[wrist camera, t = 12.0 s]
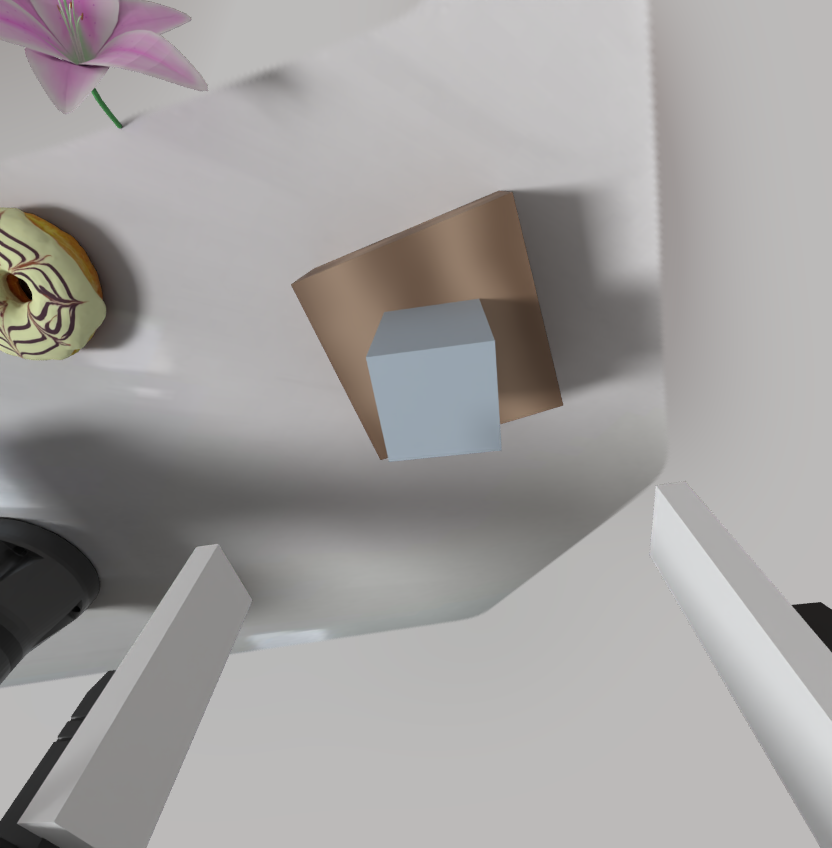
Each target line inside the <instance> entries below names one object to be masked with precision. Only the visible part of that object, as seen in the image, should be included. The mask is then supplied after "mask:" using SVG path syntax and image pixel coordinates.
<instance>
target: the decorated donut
mask: <svg viewBox="0 0 832 848" xmlns="http://www.w3.org/2000/svg"><path fill="white" fill-rule="evenodd" d="M18 278H21V279H23V280H24V281H25V282H26V283H27V284H28V286H29V288H30V290H31V292H32V300H31V299H29V298H28V297H27V296H26V294H25V293H24V291H23V290H22V288H21V286H20V284H19V281H18ZM102 298H103V295H102V290H101V286H100V282H99V278H98V274H97V271H96V270H95V268H94V267H93V265H92V264H91V262H90V260H89V257H88V256H87V254H86V252H85V250H84V249H83V248H82V247H81V246H80V245H79V244H78V242H77V240H76V239H75V238H74V237H72V236H71V235H69V234H68V233H66V232H63V231H61V230H60V229H59V228H57V227H56V226H54V225H53V224H51V223H49V222H48V221H46V220H44V219H42V218H40V217H38V216H36V215H34V214H31V213H26V212H23V211H21V210H20V209H17V208H0V350H1V351H3V352H5V353H7V354H10V355H14V356H18V357H21V358H24V359H31V360H50V359H56V360H62V359H65V358H68V357H69V356H71V355H73V354H75V353H77V352H78V351H79V350H80V349H81V348H83V347H84V346H85V345H86V343H87V342H88V341H89V340H90V339H91V338H92V337H93V335H94V334H95V331H96V330H97V328H98V327H99V326H100V325H101V324H102V322H103V320H104V319H105V317H106V306H105V303H104V302H103V300H102Z"/></svg>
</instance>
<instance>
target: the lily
mask: <svg viewBox="0 0 832 848" xmlns="http://www.w3.org/2000/svg"><path fill="white" fill-rule="evenodd" d="M189 21H191V17H190V16H188V15H187V14H185V13H183V12H181V11H178V10H176V9H173V8H170V7H167V6H164V5H161V4H158V3H153V2H149V1H145V0H0V40H3V41H6V42H9V43H13V44H16V45H19V46H23V47H26V48H25V53H26V57H27V59H28V62H29V63H30V66H31V68H32V70H33V72H34V74H35V75H36V77H37V79H38V81H39V82H40V84H41V86H42V87H43V89H44V90H45V92H46V94H47V95H48V97H49V98H50V100H51V101H52V102H53V104H54V105H55V106H56V107H57V109H58V110H60V111H61V112H63V113H64V114H68V113H71V112H73V111H74V110H75V109H76V108H77V107H78V106H79V105H80V104H81V103H82V102H83V100H84V99H85V98H86V97H87V96H88V95H89V94H90V93H91V92H92V94H93V96H94V97H95V99H96V100H97V102H98V103H99V105H100V106H101V107H102V109H103V110H104V111H105V112H106V114H107V115H108V116H109V117H110V119H111V120H112V121H113V122H114V123H115V125H116V126H117V127H118V128H122V125H121V124H120V122H119V121H118V120H117V119H116V117H115V116H114V115H113V114H112V113H111V111H110V110H109V108H108V107H107V106H106V104H105V103H104V102H103V101H102V99H101V97H100V96H99V94H98V92H97V91H96V89H95V87H96V85H97V84H98V83H99V82H100V80H101V79H102V78H103V76H104V75H105V73H106V72H107V70H108V69H109V67H115V68H121V69H125V70H130V71H134V72H139V73H143V74H146V75H149V76H152V77H156V78H159V79H162V80H166V81H168V82H171V83H175V84H178V85H181V86H184V87H187V88H191V89H194V90H198V91H208V85H207V83H206V82H205V80H204V79H203V77H202V76H201V75H200V74H199V72H198V71H197V70H196V69H195V68H194V66H193V65H192V64H191V63H190V62H189V61H188V60H187V59H186V57H185V56H183V54H181V52H179V51H178V49H177V48H176V47H175V46H173V45H172V44H171V43H170V42H169V41H167V40H166V39H165V38H164V37H162V36H160V35H161V34H163V33H165V32H167V31H170V30H172V29H174V28H176V27H179V26H181V25H183V24H185V23H187V22H189ZM56 57H58V58H61V59H62V60H60V59H58V58H56ZM63 60H64V61H63Z"/></svg>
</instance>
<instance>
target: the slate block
mask: <svg viewBox="0 0 832 848" xmlns="http://www.w3.org/2000/svg"><path fill="white" fill-rule="evenodd" d="M366 360H367V365H368V369H369V374H370V378H371V383H372V387H373V392H374V396H375V401H376V405H377V410H378V414H379V419H380V423H381V428H382V432H383V437H384V441H385V446H386V450H387V455H388V459H389V462H392V461H402V460H412V459H422V458H432V457H441V456H451V455H461V454H471V453H481V452H491V451H501V433H500V417H499V400H498V384H497V367H496V351H495V340H494V337H493V334H492V332H491V329H490V326H489V324H488V321H487V318H486V316H485V313H484V310H483V308H482V305H481V302H480V300H479V299H473V300H466V301H459V302H452V303H445V304H438V305H431V306H424V307H417V308H410V309H403V310H396V311H388V312H384V314H383V316H382V319H381V321H380V324H379V326H378V329H377V331H376V334H375V336H374V339H373V341H372V343H371V346H370V348H369V351H368V353H367V356H366Z"/></svg>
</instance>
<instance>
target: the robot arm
mask: <svg viewBox="0 0 832 848" xmlns="http://www.w3.org/2000/svg"><path fill="white" fill-rule="evenodd" d="M649 555H650V557H651V559H652V560H653V562H654V564H655V566H656V568H657V569H658V571H659V573H660V574H661V576H662V578H663V579H664V581H665V583H666V584H667V586H668V588H669V590H670V591H671V593H672V595H673V597H674V598H675V600H676V601H677V603H678V605H679V607H680V609H681V610H682V612H683V614H684V615H685V617H686V619H687V620H688V622H689V624H690V626H691V627H692V629H693V631H694V632H695V634H696V636H697V638H698V639H699V641H700V643H701V644H702V646H703V648H704V650H705V651H706V653H707V655H708V656H709V658H710V660H711V661H712V663H713V665H714V667H715V668H716V670H717V671H718V673H719V675H720V677H721V679H722V680H723V682H724V684H725V685H726V687H727V689H728V691H729V692H730V694H731V696H732V697H733V699H734V701H735V702H736V704H737V706H738V708H739V709H740V711H741V713H742V714H743V716H744V718H745V719H746V721H747V723H748V725H749V726H750V728H751V730H752V731H753V733H754V735H755V737H756V738H757V740H758V742H759V743H760V745H761V747H762V749H763V750H764V752H765V754H766V755H767V757H768V759H769V760H770V762H771V764H772V766H773V767H774V769H775V771H776V772H777V774H778V776H779V778H780V779H781V781H782V783H783V784H784V786H785V788H786V789H787V791H788V793H789V795H790V796H791V798H792V800H793V801H794V803H795V805H796V807H797V808H798V810H799V812H800V813H801V815H802V817H803V819H804V820H805V822H806V824H807V825H808V827H809V829H810V831H811V832H812V834H813V835H814V837H815V839H816V841H817V842H818V844H819V846H820V848H832V609H830V608H828V607H827V606H825V605H824V604H823V603H821V602H818V603H807V604H797V605H791V604H790V603H789V602H788V601H787V600H786V598H785V597H784V596H783V595H782V594H781V593H780V591H779V590H778V589H777V588H776V587H775V585H774V584H773V583H772V582H771V581H770V580H769V579H768V577H767V576H766V575H765V574H764V573H763V572H762V570H761V569H760V568H759V567H758V566H757V565H756V563H755V562H754V561H753V560H752V559H751V557H750V556H749V555H748V554H747V553H746V551H745V550H744V549H743V548H742V547H741V546H740V544H739V543H738V542H737V541H736V540H735V539H734V537H733V536H732V535H731V534H730V533H729V532H728V530H727V529H726V528H725V527H724V526H723V525H722V523H721V522H720V521H719V520H718V519H717V518H716V516H715V515H714V514H713V513H712V512H711V510H709V508H708V507H707V506H706V505H705V504H704V502H703V501H702V500H701V499H700V498H699V496H698V495H697V494H696V493H695V492H694V491H693V489H692V488H691V487H690V486H689V485H688V484H687V483H686V481H684V482H677V483H669V484H662V485H656V491H655V501H654V512H653V522H652V533H651V543H650V554H649ZM99 587H100V583H99V578H98V575H97V573H96V571H95V569H94V567H93V566H92V564H91V563H90V562H89V560H88V559H87V558H86V557H85V556H84V555H83V554H82V553H81V552H80V551H79V550H78V549H76V548H75V547H74V546H73V545H71V544H70V543H69V542H67V541H66V540H64V539H62V538H61V537H59V536H57V535H55V534H53V533H52V532H50V531H47V530H45V529H43V528H40V527H38V526H35V525H32V524H29V523H25V522H21V521H17V520H11V519H2V518H0V684H1V683H2V682H3V681H4V680H5V678H6V677H7V676H8V675H9V673H10V672H11V671H12V670H13V669H14V668H15V667H16V665H17V664H18V663H19V662H20V661H21V660H22V659H23V658H24V656H25V655H26V654H28V653H29V652H30V651H32V650H33V649H34V648H36V647H37V646H39V645H40V644H41V643H43V642H44V641H46V640H47V639H48V638H50V637H51V636H53V635H54V634H55V633H57V632H58V631H60V630H61V629H62V628H64V627H65V626H67V625H68V624H69V623H71V622H72V621H74V620H75V619H76V618H78V617H79V616H80V615H81V614H82V613H83V612H84V611H85V610H86V609H87V607H88V606H89V605H90V604H91V603H92V601H93V600H94V599H95V598H96V596H97V594H98V592H99ZM252 601H253V600H252V599H251V597H250V595H249V594H248V592H247V590H246V589H245V587H244V585H243V584H242V582H241V580H240V579H239V577H238V575H237V574H236V572H235V570H234V569H233V567H232V565H231V564H230V562H229V560H228V559H227V557H226V556H225V554H224V552H223V551H222V549H221V547H220V546H219V544H213V545H206V546H198V547H196V548H195V550H194V551H193V553H192V554H191V556H190V557H189V559H188V560H187V562H186V564H185V565H184V567H183V568H182V570H181V571H180V573H179V574H178V576H177V577H176V579H175V580H174V582H173V584H172V585H171V587H170V588H169V590H168V591H167V593H166V594H165V596H164V597H163V599H162V601H161V602H160V604H159V605H158V607H157V608H156V610H155V611H154V613H153V614H152V616H151V617H150V619H149V621H148V622H147V624H146V625H145V627H144V628H143V630H142V631H141V633H140V634H139V636H138V638H137V639H136V641H135V642H134V644H133V645H132V647H131V648H130V650H129V651H128V653H127V654H126V656H125V658H124V659H123V661H122V662H121V664H120V665H119V667H118V668H117V670H113V671H108V672H107V673H106V674H105V675H104V676H103V677H102V678H101V679H100V680H99V681H98V682H97V683H96V684H95V685H94V686H93V687H92V688H91V689H90V690H89V691H88V692H87V694H86V695H85V697H84V698H83V700H82V701H81V703H80V704H79V706H78V707H77V709H76V710H75V712H74V713H73V715H72V716H71V717H72V718H71V721H68V722H67V723H66V725H65V727H64V728H63V729H62V731H61V732H60V734H59V735H58V740H57V741H56V742H54V743H53V744H52V746H51V747H50V749H49V750H48V752H47V753H46V755H45V756H44V758H43V759H42V761H41V762H40V763H39V765H38V766H37V768H36V769H35V771H34V772H33V774H32V775H31V777H30V779H29V780H28V781H27V783H26V784H25V786H24V787H23V788H22V790H21V792H20V793H19V795H18V796H17V798H16V799H15V800H14V802H13V803H12V805H11V806H10V808H9V809H8V811H7V812H6V814H5V815H4V817H3V818H2V819H1V821H0V848H146V847H147V845H148V842H149V840H150V838H151V836H152V833H153V831H154V829H155V826H156V824H157V822H158V819H159V817H160V815H161V812H162V810H163V808H164V805H165V803H166V801H167V798H168V796H169V793H170V791H171V789H172V787H173V784H174V782H175V780H176V777H177V775H178V773H179V770H180V768H181V766H182V763H183V761H184V759H185V756H186V754H187V752H188V750H189V747H190V745H191V743H192V740H193V738H194V735H195V733H196V731H197V728H198V726H199V724H200V722H201V719H202V717H203V715H204V712H205V710H206V707H207V705H208V703H209V701H210V698H211V696H212V694H213V691H214V689H215V687H216V684H217V682H218V680H219V677H220V675H221V673H222V670H223V668H224V666H225V663H226V661H227V659H228V657H229V654H230V652H231V650H232V647H233V645H234V643H235V640H236V638H237V636H238V633H239V631H240V629H241V626H242V624H243V622H244V619H245V617H246V615H247V612H248V610H249V608H250V605H251V603H252Z"/></svg>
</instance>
